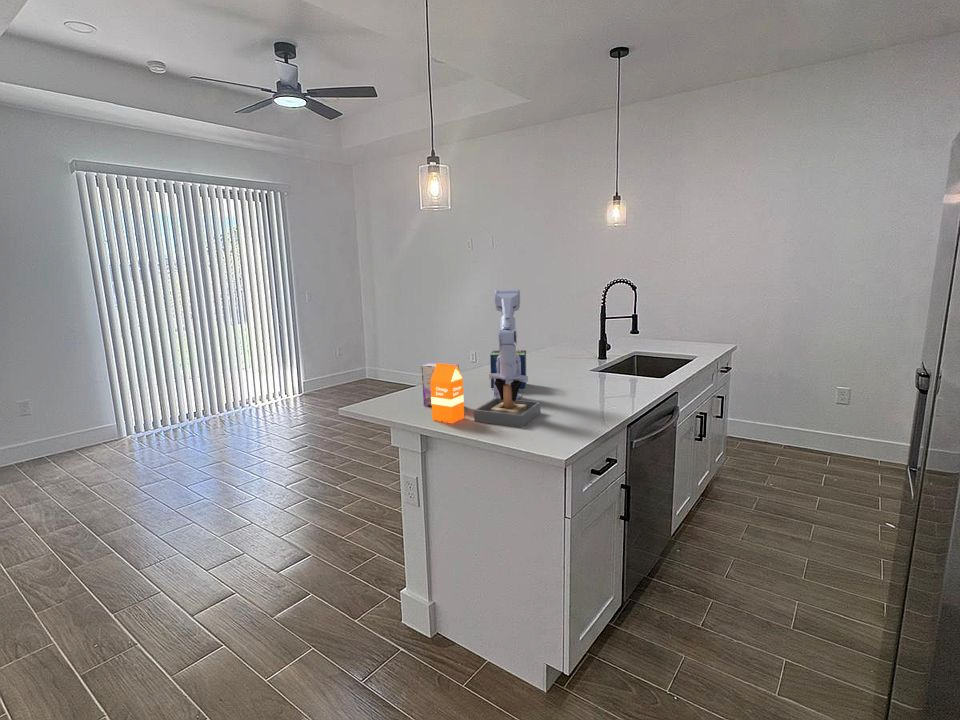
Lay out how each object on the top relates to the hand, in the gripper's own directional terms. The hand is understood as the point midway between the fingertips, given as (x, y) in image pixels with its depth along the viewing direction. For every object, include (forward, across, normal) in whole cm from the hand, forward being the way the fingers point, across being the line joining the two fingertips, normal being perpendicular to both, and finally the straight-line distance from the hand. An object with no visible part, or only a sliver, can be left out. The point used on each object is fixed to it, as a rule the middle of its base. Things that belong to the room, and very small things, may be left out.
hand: (508, 399), depth 186 cm
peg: (+2, 0, 0) cm, 3 cm away
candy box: (+6, -29, +1) cm, 30 cm away
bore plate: (+5, 0, 0) cm, 5 cm away
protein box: (+6, -17, +39) cm, 43 cm away
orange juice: (+6, -18, -13) cm, 23 cm away
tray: (+5, +1, -3) cm, 6 cm away
